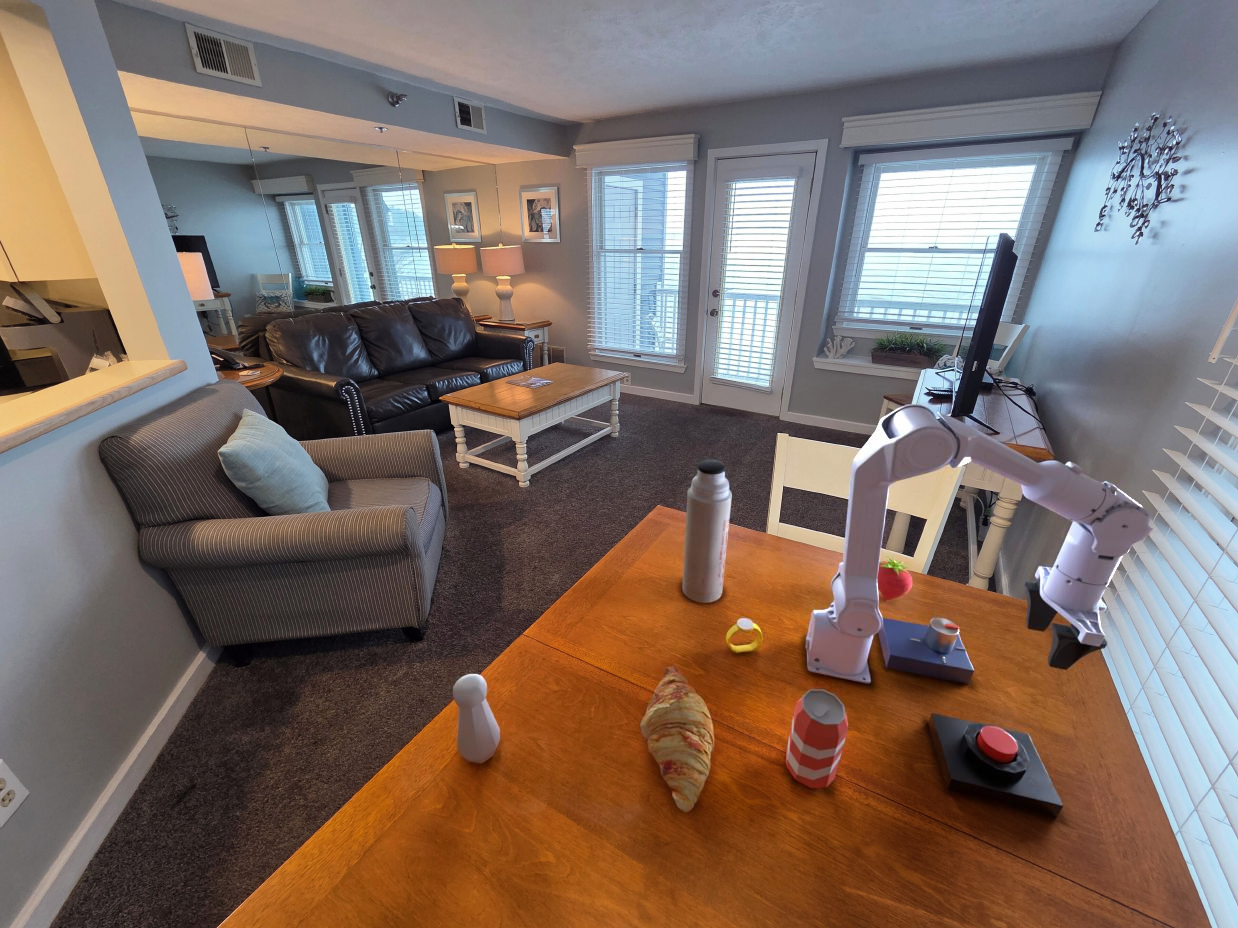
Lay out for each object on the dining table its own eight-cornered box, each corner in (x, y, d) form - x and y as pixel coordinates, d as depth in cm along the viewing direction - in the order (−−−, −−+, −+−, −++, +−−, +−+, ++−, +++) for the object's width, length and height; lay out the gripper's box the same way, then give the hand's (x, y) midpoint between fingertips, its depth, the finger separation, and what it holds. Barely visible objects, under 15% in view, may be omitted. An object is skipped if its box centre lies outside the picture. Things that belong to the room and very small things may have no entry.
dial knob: (927, 650, 82) (934, 630, 80) (921, 633, 85) (928, 613, 84) (955, 655, 81) (962, 635, 79) (948, 638, 84) (955, 618, 83)
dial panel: (886, 667, 83) (890, 653, 81) (877, 629, 90) (881, 616, 89) (969, 684, 80) (975, 669, 78) (953, 643, 87) (958, 629, 86)
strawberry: (888, 615, 94) (900, 571, 90) (859, 590, 100) (870, 548, 96) (913, 608, 95) (926, 565, 91) (884, 584, 102) (895, 543, 98)
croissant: (707, 834, 63) (742, 800, 60) (637, 813, 61) (670, 777, 58) (685, 691, 82) (711, 660, 79) (631, 672, 80) (655, 639, 77)
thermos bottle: (728, 585, 102) (741, 461, 90) (713, 608, 96) (724, 478, 84) (692, 572, 106) (700, 451, 94) (675, 593, 100) (681, 467, 88)
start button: (982, 758, 65) (987, 749, 64) (972, 731, 68) (976, 722, 67) (1018, 766, 64) (1023, 757, 63) (1006, 738, 67) (1010, 729, 66)
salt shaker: (464, 777, 67) (449, 709, 61) (455, 741, 71) (441, 676, 66) (507, 757, 69) (496, 690, 64) (496, 724, 74) (485, 659, 68)
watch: (756, 642, 88) (760, 616, 85) (762, 654, 86) (766, 627, 83) (723, 645, 88) (726, 618, 85) (728, 657, 85) (731, 630, 82)
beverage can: (775, 764, 68) (787, 702, 63) (803, 738, 71) (816, 677, 66) (815, 801, 63) (831, 738, 58) (842, 771, 67) (860, 708, 62)
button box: (947, 789, 65) (955, 769, 63) (927, 723, 73) (934, 704, 72) (1057, 816, 62) (1069, 796, 60) (1023, 744, 70) (1033, 724, 69)
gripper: (1151, 613, 60) (1105, 693, 66) (1090, 547, 73) (1055, 619, 79) (1080, 601, 62) (1041, 680, 68) (1032, 539, 75) (1003, 610, 81)
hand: (1045, 646), depth 73 cm, fingers open, 7 cm apart
